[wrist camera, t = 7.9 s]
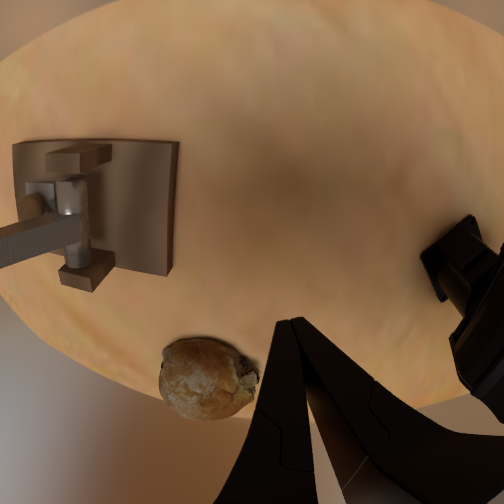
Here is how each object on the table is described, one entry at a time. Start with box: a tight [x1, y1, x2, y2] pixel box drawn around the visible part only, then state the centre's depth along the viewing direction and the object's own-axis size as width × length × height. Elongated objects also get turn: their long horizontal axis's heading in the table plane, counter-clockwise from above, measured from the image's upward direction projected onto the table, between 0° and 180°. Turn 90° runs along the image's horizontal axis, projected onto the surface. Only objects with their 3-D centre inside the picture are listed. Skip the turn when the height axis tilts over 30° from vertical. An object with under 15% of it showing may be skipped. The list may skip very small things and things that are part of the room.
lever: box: [0, 174, 93, 269], centre depth 13 cm, size 6×6×13 cm
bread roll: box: [159, 338, 260, 421], centre depth 26 cm, size 10×10×8 cm
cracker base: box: [12, 139, 179, 293], centre depth 18 cm, size 16×10×6 cm, turn 82°
